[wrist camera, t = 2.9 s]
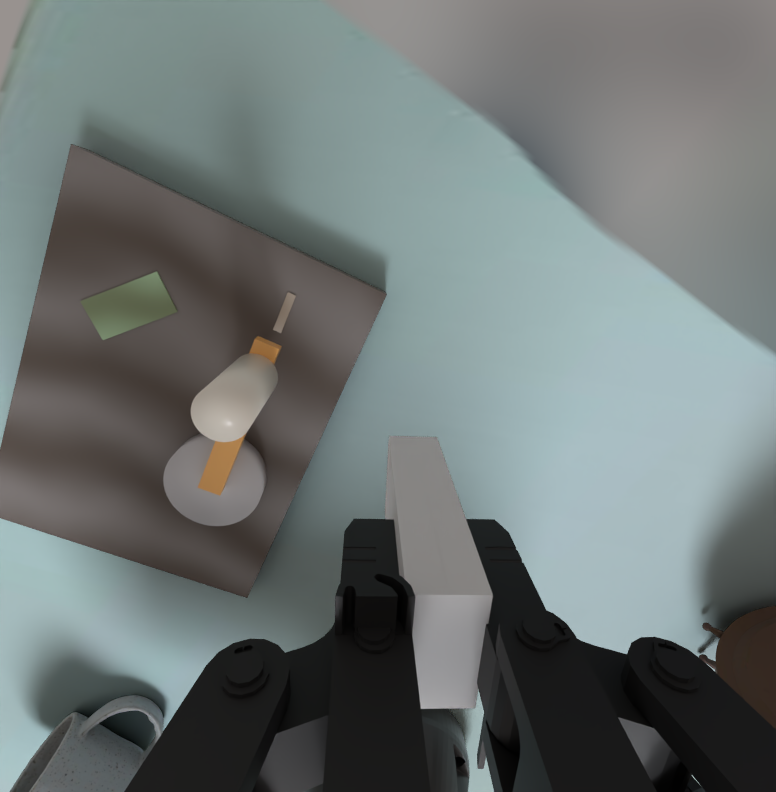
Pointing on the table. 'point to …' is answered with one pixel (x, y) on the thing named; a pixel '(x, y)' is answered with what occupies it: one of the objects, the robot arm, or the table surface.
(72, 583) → the table surface
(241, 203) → the table surface
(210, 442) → the dial
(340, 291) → the dial plate
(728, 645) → the alarm clock
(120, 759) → the ceramic mug
